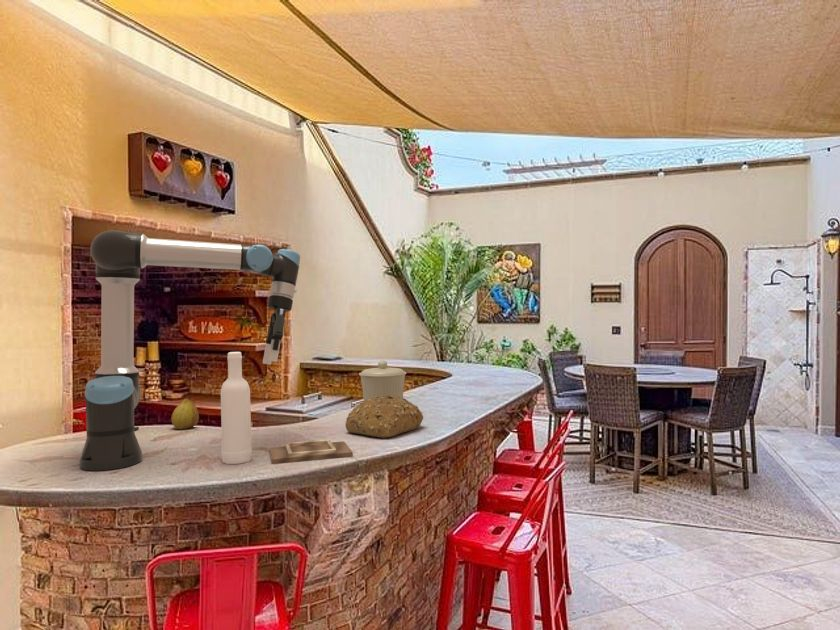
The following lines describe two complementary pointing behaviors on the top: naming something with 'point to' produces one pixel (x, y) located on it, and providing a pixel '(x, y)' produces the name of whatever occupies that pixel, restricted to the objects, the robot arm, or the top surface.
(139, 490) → the top surface
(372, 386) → the canister
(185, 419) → the fruit
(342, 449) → the serving board
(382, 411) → the bread
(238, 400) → the bottle
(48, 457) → the top surface
